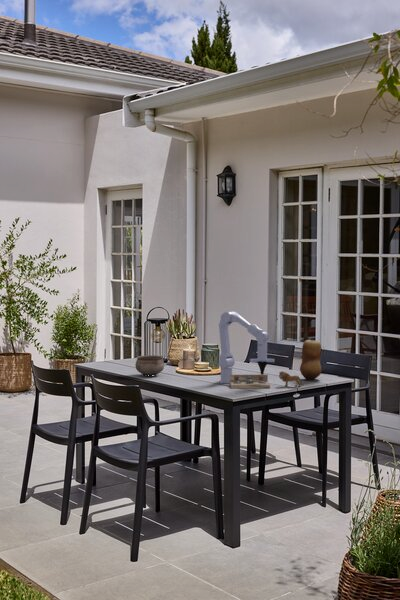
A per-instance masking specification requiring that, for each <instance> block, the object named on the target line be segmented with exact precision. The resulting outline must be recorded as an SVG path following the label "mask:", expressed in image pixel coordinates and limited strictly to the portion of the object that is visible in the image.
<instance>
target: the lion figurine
mask: <svg viewBox="0 0 400 600" xmlns="http://www.w3.org/2000/svg"><path fill="white" fill-rule="evenodd" d="M278 374H279V375H278V377H279V380H281V381H282V382H285V385H284V387H286V388H287V387H288V384H289V383H292V382H294V381H295V382H296V384H295V385H294V387H298V388H301V387H304V385H303V384H302V380H301V378H300V377H299V375H297V374H296V375H291V374H289V373H287V372H285V371H282V370H281V371H280V372H279V373H278Z"/></svg>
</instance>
